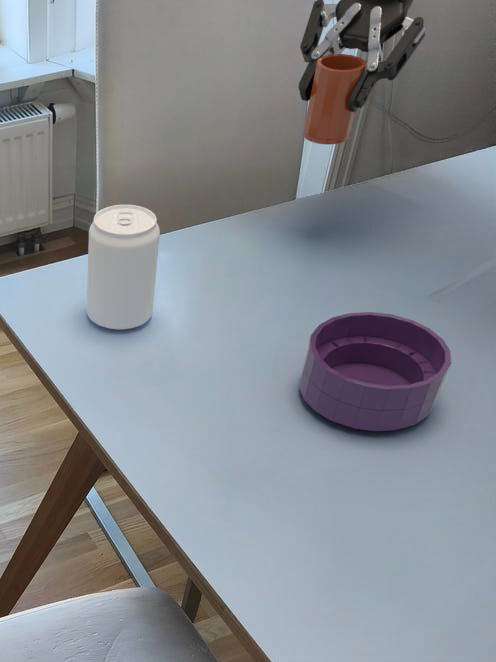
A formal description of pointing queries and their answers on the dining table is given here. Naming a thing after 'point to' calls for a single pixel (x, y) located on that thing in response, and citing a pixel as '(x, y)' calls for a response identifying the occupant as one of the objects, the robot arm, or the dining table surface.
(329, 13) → the robot arm
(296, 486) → the dining table surface
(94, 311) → the beverage can
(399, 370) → the bowl
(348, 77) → the cup
